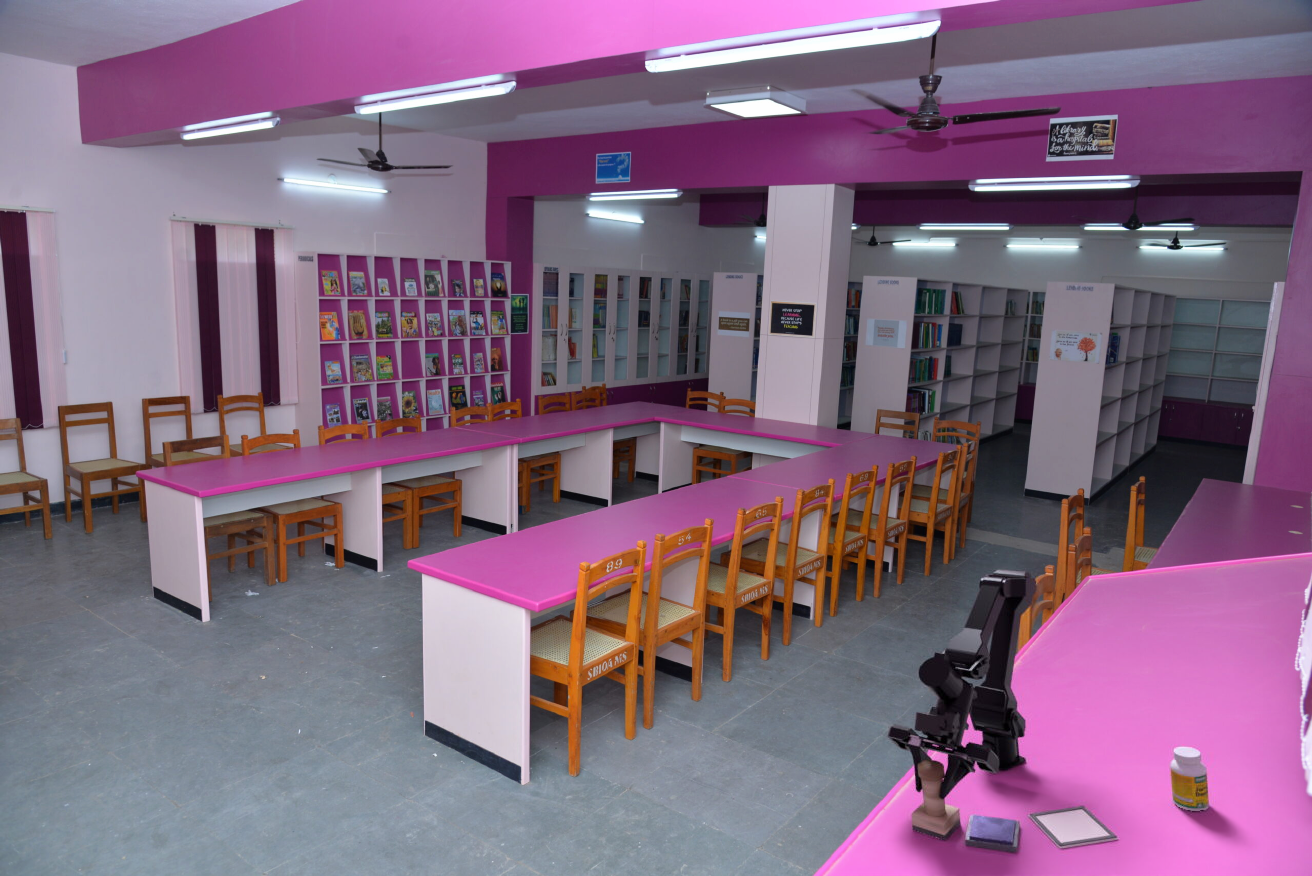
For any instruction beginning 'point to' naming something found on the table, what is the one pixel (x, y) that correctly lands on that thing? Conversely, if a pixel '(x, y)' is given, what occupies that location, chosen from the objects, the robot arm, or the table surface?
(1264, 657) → the table surface
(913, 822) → the stamp
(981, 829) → the ink pad
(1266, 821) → the table surface
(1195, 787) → the supplement bottle
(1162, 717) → the table surface
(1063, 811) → the marked square
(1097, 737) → the table surface
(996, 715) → the robot arm
